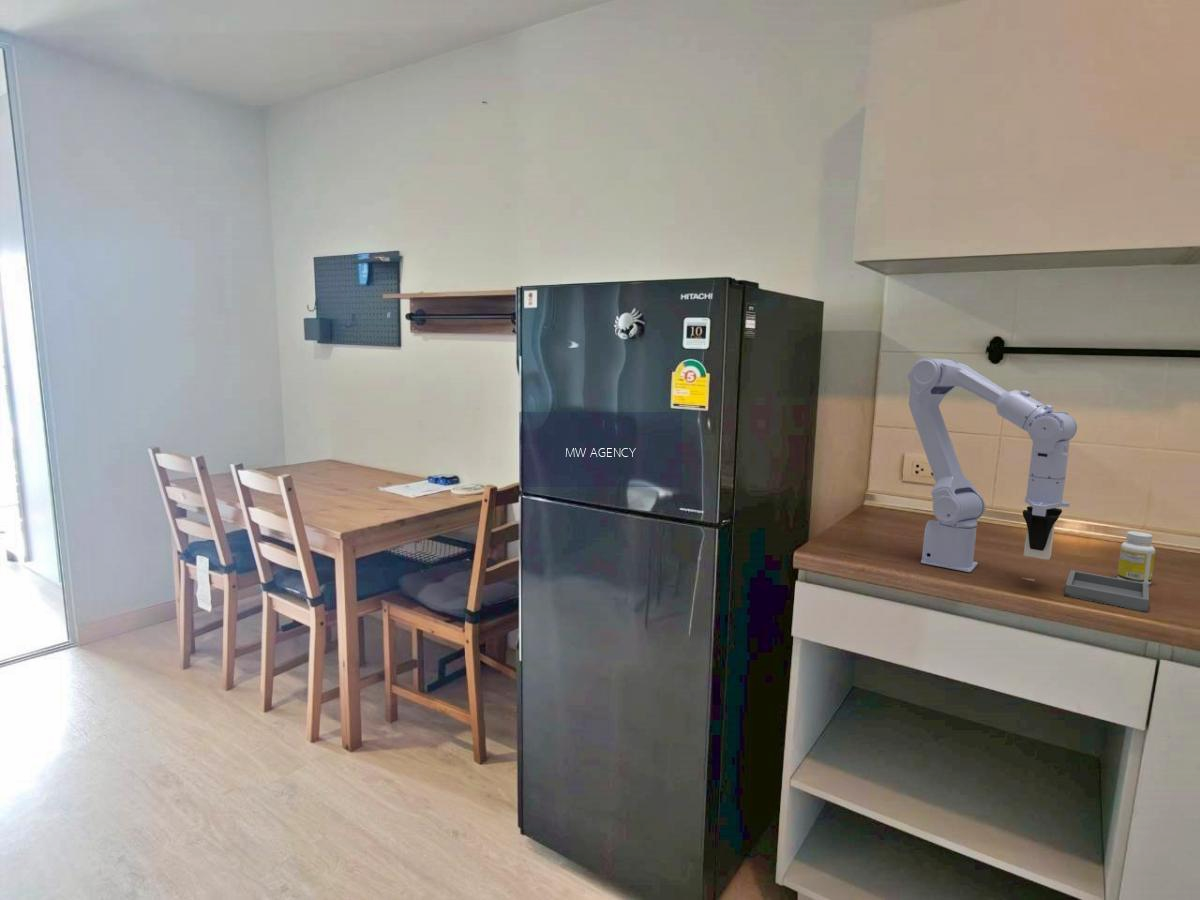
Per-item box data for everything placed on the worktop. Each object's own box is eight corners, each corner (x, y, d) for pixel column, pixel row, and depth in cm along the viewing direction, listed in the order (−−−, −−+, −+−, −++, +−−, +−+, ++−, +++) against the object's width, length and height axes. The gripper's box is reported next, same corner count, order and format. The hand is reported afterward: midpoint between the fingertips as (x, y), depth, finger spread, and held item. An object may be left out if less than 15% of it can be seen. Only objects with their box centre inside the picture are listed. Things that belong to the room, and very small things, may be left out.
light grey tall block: (1023, 555, 128) (1027, 519, 127) (1026, 551, 132) (1030, 516, 131) (1048, 559, 126) (1053, 523, 125) (1050, 555, 129) (1055, 519, 128)
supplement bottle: (1135, 577, 138) (1142, 530, 137) (1158, 586, 133) (1165, 537, 131) (1109, 576, 138) (1116, 530, 136) (1131, 585, 132) (1138, 537, 131)
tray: (1064, 596, 125) (1065, 584, 125) (1069, 580, 134) (1070, 570, 134) (1147, 612, 118) (1149, 600, 117) (1146, 595, 127) (1148, 583, 127)
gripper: (1069, 484, 119) (1060, 559, 120) (1075, 474, 130) (1066, 543, 132) (1022, 479, 123) (1014, 551, 125) (1032, 470, 134) (1024, 537, 136)
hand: (1038, 547), depth 129 cm, fingers closed on light grey tall block, 4 cm apart
